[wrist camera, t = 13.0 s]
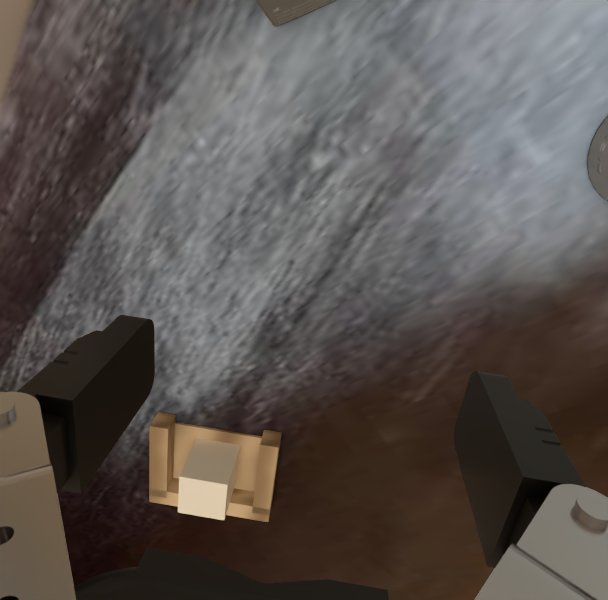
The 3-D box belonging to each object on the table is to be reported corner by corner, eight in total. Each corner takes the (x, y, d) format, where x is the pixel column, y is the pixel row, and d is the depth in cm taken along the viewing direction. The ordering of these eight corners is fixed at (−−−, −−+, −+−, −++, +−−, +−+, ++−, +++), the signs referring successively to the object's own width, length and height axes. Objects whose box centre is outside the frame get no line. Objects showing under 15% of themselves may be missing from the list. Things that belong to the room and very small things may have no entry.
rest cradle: (281, 432, 53) (278, 447, 51) (271, 505, 58) (268, 522, 55) (158, 411, 54) (149, 425, 51) (157, 485, 58) (149, 501, 56)
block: (240, 445, 54) (227, 484, 49) (236, 478, 56) (224, 520, 51) (196, 437, 54) (179, 476, 49) (194, 471, 56) (177, 512, 51)
